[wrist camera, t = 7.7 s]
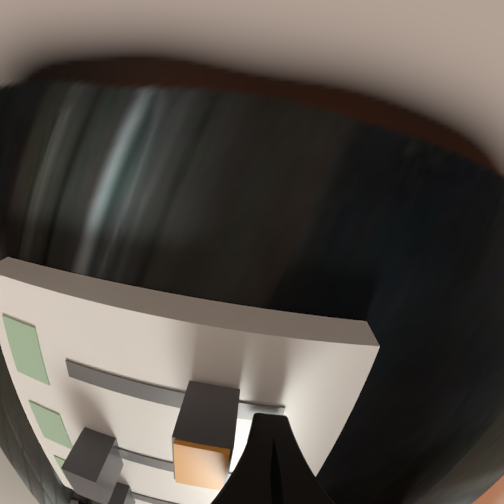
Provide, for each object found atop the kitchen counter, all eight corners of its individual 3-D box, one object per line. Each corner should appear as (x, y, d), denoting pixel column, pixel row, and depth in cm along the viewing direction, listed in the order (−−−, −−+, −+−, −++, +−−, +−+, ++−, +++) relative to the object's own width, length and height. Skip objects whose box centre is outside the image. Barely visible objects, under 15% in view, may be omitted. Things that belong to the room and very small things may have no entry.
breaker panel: (366, 321, 13) (409, 403, 8) (276, 516, 19) (276, 566, 14) (8, 256, 13) (-62, 295, 8) (72, 469, 19) (50, 511, 14)
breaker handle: (240, 388, 11) (233, 452, 8) (232, 434, 12) (224, 491, 9) (189, 380, 11) (170, 441, 8) (187, 426, 12) (172, 482, 9)
